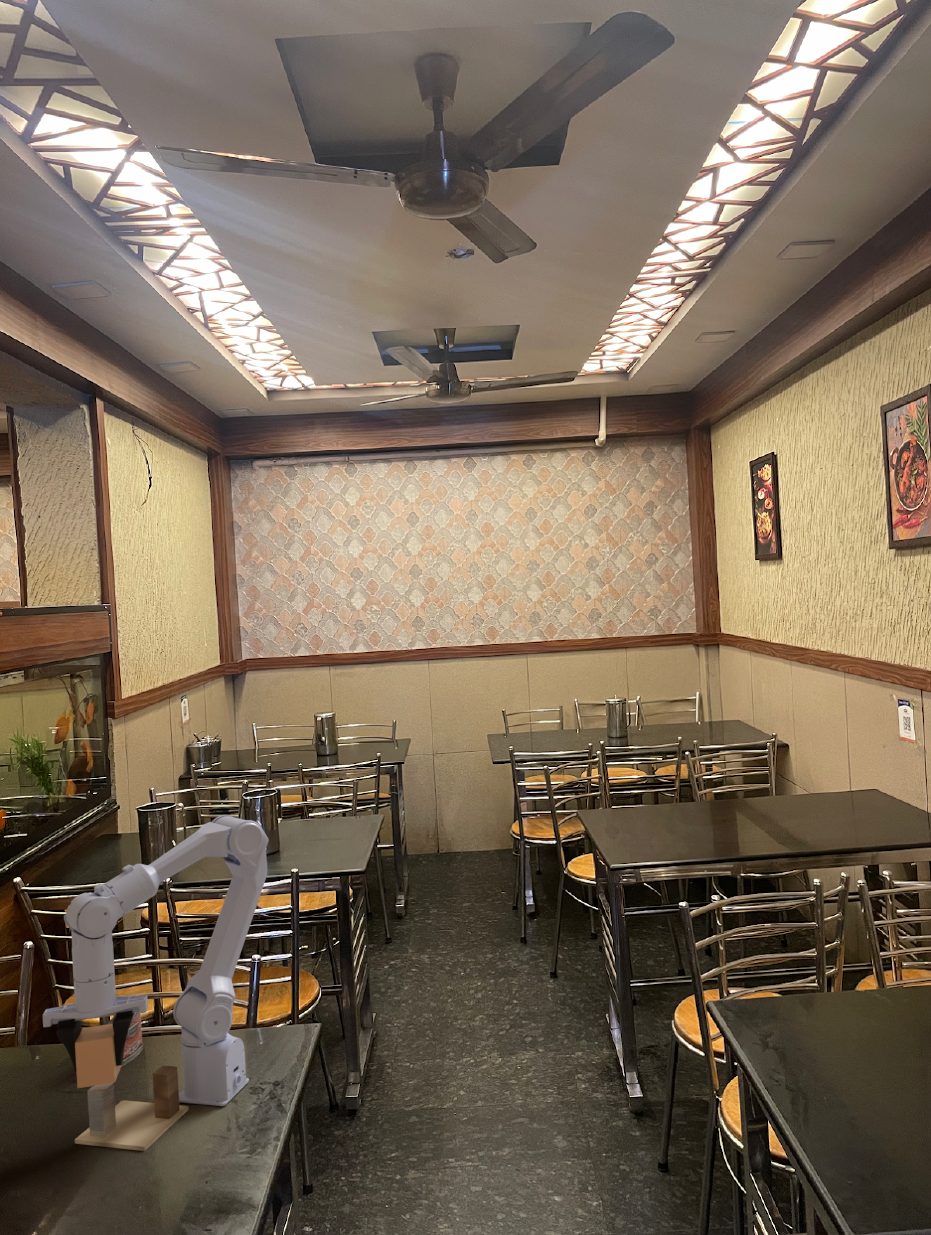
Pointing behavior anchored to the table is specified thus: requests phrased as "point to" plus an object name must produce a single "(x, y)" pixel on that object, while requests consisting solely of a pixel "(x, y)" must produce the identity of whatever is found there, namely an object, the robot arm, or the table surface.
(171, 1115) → the post
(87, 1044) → the tan rectangular block
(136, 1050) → the lighter
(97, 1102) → the post
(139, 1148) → the board
